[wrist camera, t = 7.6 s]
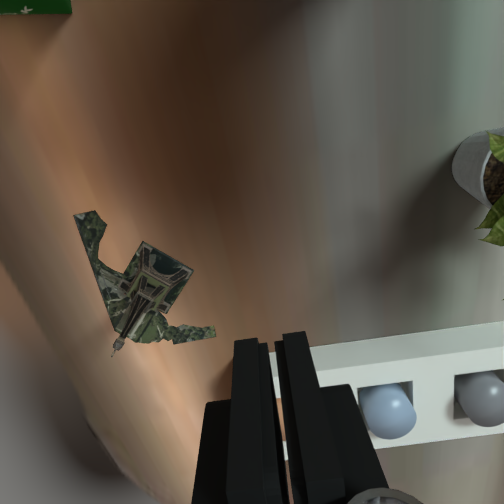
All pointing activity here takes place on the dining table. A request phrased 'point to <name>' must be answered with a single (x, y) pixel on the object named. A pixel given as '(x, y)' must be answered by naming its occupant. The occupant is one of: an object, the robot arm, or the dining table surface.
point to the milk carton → (35, 7)
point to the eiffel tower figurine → (139, 289)
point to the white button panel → (415, 375)
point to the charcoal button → (481, 397)
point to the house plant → (484, 177)
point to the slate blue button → (387, 410)
